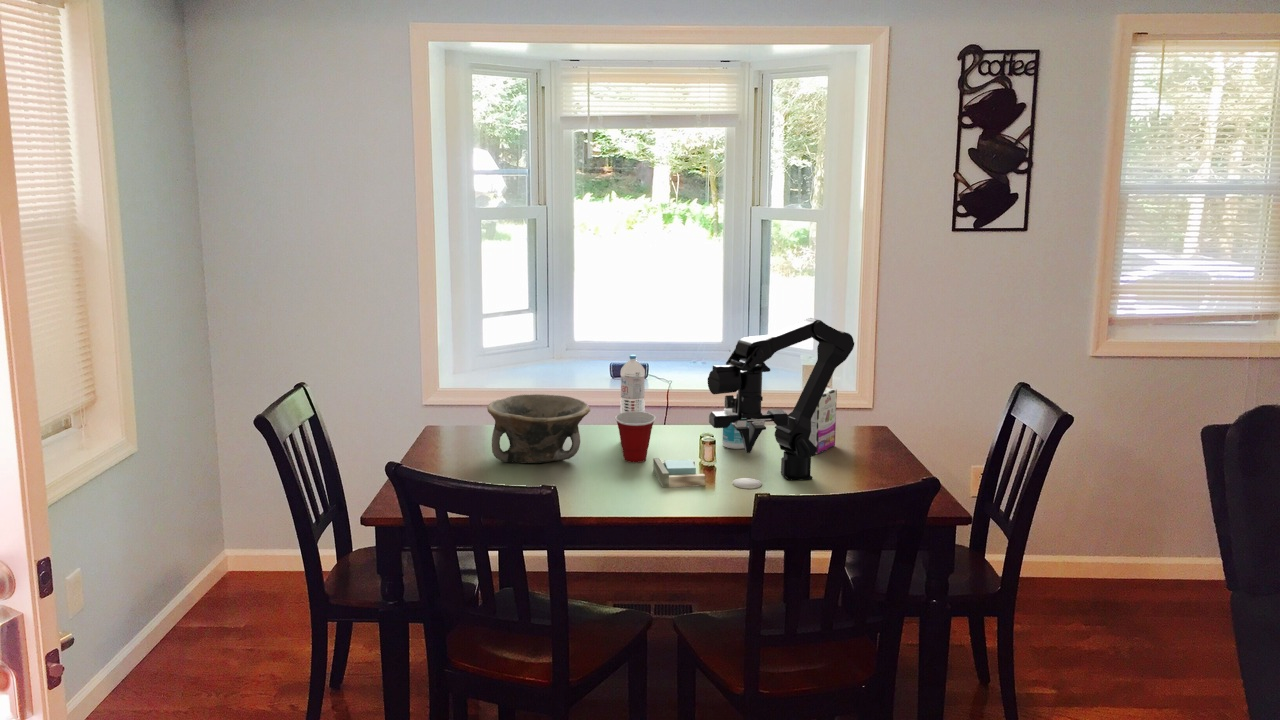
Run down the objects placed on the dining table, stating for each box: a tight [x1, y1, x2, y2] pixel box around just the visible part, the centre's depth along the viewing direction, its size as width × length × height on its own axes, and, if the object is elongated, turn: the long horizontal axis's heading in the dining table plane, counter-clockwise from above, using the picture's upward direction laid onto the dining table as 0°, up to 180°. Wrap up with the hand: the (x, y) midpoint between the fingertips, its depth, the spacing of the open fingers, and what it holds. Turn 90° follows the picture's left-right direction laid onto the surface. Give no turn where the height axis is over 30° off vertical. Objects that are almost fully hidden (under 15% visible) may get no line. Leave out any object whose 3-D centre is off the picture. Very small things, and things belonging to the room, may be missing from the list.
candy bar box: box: [809, 387, 838, 455], centre depth 269 cm, size 11×5×16 cm, turn 143°
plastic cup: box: [614, 411, 657, 464], centre depth 258 cm, size 11×11×12 cm
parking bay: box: [652, 457, 706, 488], centre depth 243 cm, size 10×13×4 cm
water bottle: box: [619, 354, 646, 413], centre depth 273 cm, size 7×7×25 cm
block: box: [664, 459, 697, 475], centre depth 243 cm, size 7×7×4 cm
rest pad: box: [732, 477, 762, 490], centre depth 240 cm, size 7×7×1 cm
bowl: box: [486, 393, 591, 464], centre depth 258 cm, size 27×26×15 cm
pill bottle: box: [722, 396, 749, 450], centre depth 271 cm, size 8×7×14 cm
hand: (748, 452), depth 238 cm, fingers closed
